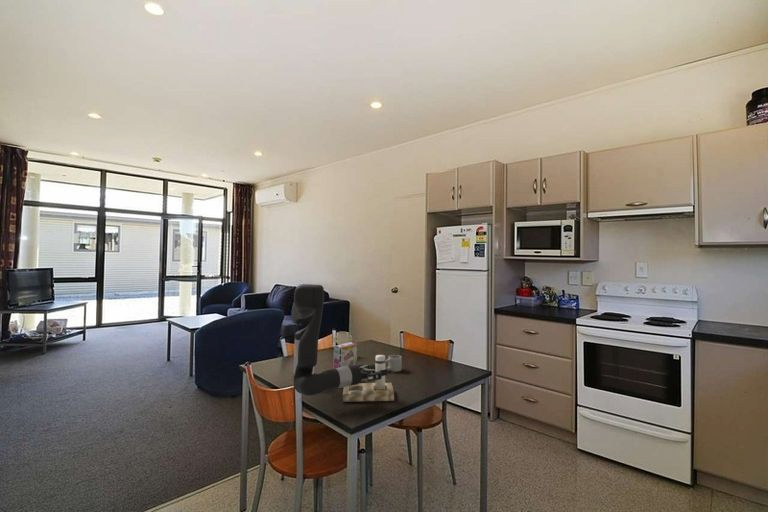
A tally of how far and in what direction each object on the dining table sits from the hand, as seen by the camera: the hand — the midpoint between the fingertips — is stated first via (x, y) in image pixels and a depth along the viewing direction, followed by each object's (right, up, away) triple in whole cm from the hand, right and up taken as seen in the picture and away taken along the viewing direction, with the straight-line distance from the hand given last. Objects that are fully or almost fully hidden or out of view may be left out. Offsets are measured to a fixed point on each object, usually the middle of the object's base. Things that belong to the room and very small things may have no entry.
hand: (381, 369), depth 149 cm
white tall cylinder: (-1, -10, 0) cm, 11 cm away
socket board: (-5, -10, -1) cm, 12 cm away
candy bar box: (-17, -11, +17) cm, 26 cm away
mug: (+5, -11, +33) cm, 35 cm away
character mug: (-23, -11, +60) cm, 65 cm away
